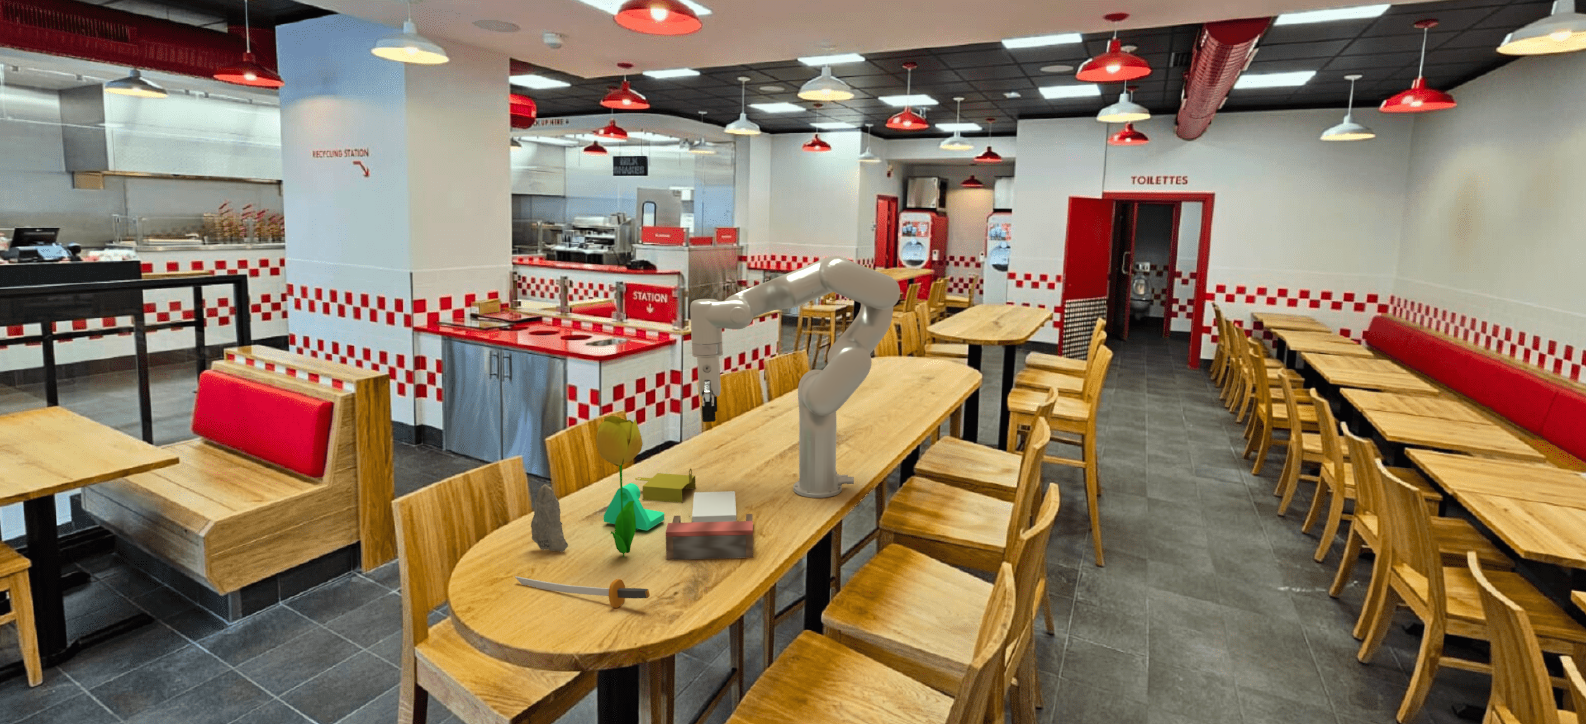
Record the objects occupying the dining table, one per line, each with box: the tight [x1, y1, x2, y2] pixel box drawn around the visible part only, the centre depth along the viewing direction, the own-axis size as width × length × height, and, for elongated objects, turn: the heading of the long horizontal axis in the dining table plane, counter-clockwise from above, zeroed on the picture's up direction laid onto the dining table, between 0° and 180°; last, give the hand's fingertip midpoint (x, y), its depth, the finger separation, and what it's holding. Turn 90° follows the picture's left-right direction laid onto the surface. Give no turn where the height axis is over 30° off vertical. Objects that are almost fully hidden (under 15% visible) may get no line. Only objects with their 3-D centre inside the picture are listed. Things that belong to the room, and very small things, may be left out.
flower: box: [596, 415, 643, 558], centre depth 163 cm, size 9×8×30 cm
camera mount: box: [603, 482, 665, 532], centre depth 182 cm, size 12×8×10 cm, turn 65°
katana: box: [514, 575, 651, 609], centre depth 147 cm, size 30×4×5 cm, turn 68°
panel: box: [691, 490, 737, 522], centre depth 188 cm, size 10×16×4 cm, turn 5°
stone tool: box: [530, 483, 569, 553], centre depth 167 cm, size 8×3×15 cm, turn 75°
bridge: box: [665, 513, 754, 561], centre depth 173 cm, size 18×18×6 cm
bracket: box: [634, 468, 697, 504], centre depth 202 cm, size 16×8×15 cm
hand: (710, 416), depth 198 cm, fingers open, 9 cm apart
